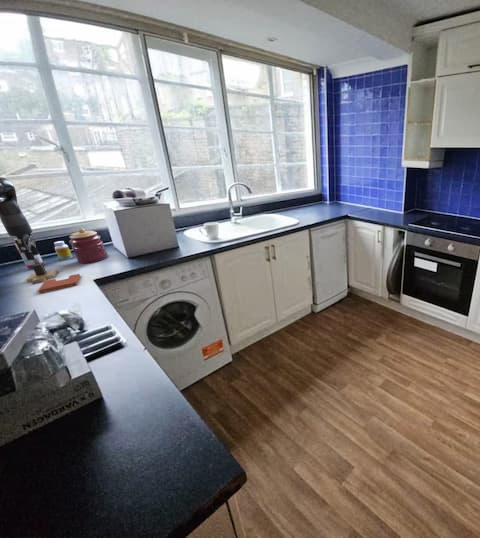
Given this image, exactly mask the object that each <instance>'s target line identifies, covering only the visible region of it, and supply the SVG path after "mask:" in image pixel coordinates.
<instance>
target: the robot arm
mask: <svg viewBox="0 0 480 538" xmlns="http://www.w3.org/2000/svg"><path fill="white" fill-rule="evenodd" d="M16 191H17V190H16V188H15V185H14V184H13V183H12V182H11V181H10V180H9V179H7V178H5V177H2V176H1V177H0V223H1V224H2V225H3V227H4V229H5V231H6V232H7V234H8V236H9V237H16V238H17V240H14V242H16V244H17V246H18V248H19V250H20V252H21V253H24V254H25V256H26V258H27V260H34V259H35V258H34V256H33V255H38V254H39V255H40V253H39V251H38V249H37V243H36V241H35V240H34V237H33V236H32V233H33V229H32V227H31V225H30V223H29V221H28V219H27V217H26V216H25V215H24V213H23V211H22V209H21V207H20V205H19V204H18V197H17V192H16ZM21 244H22V245H21ZM25 248H26V249H25ZM24 249H25V250H24Z"/></svg>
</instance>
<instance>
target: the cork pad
mask: <svg viewBox="0 0 480 538" xmlns="http://www.w3.org/2000/svg"><path fill="white" fill-rule="evenodd" d="M32 268H33V269H32V270H33V271H34V272H33V273H30V274H29V276H28V277H26V282H27V283H28V284H29V283H32V284H37V283H38V284H39V283H44V281H46V280H49V279H54V278H55V276H57V273H58V270H57V268H53V269H49V270H46V268H45V266H44V265H43V264H42V263H39V264H33V266H32Z"/></svg>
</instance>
